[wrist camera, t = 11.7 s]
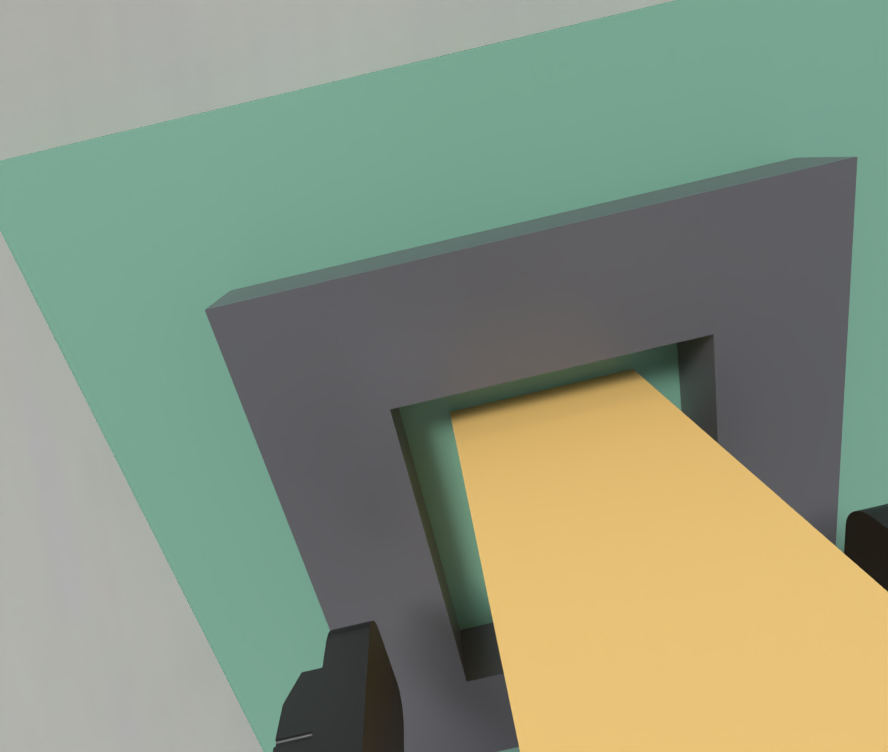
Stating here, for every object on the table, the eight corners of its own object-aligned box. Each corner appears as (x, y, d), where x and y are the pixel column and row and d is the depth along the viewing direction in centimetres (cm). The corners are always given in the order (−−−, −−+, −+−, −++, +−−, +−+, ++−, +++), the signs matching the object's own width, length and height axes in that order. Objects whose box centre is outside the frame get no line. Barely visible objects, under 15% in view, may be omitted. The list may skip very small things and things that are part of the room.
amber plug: (633, 368, 12) (1038, 724, 4) (651, 554, 14) (957, 1027, 6) (449, 411, 12) (537, 838, 4) (492, 591, 14) (606, 1108, 6)
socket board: (946, -55, 10) (1109, -120, 8) (877, 649, 17) (954, 727, 14) (6, 167, 10) (-106, 169, 8) (302, 780, 17) (286, 879, 15)
